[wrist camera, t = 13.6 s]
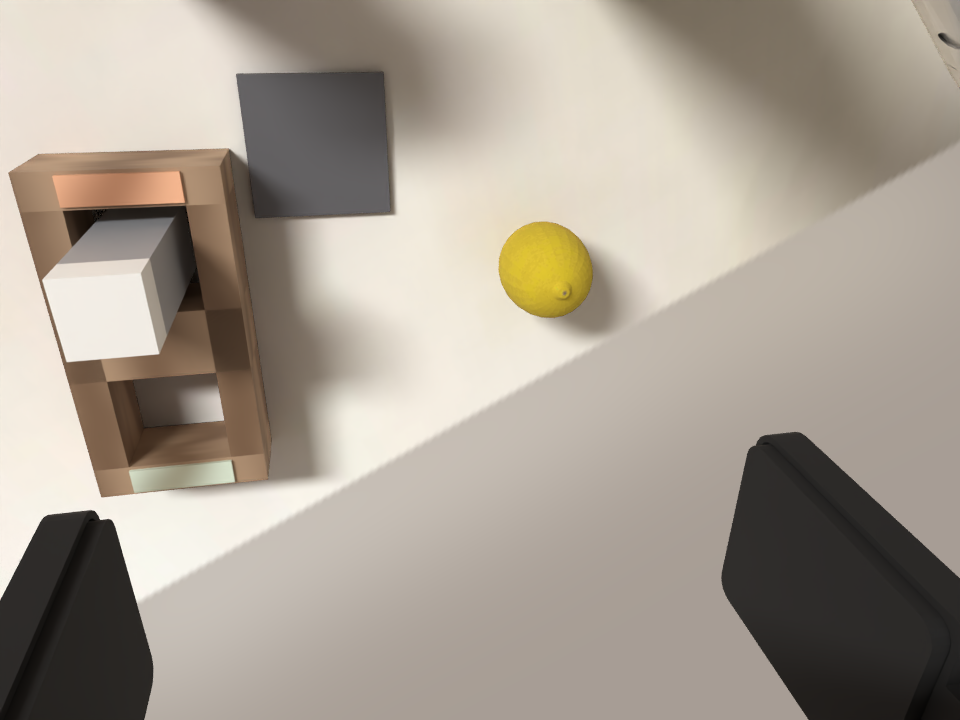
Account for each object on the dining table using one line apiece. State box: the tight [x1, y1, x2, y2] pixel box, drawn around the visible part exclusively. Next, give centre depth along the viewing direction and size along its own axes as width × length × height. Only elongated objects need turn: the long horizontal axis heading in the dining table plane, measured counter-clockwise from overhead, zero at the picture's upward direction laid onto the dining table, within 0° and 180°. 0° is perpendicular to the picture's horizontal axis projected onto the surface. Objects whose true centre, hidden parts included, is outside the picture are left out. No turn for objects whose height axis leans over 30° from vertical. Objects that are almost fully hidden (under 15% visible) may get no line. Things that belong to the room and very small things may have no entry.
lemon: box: [499, 222, 593, 318], centre depth 45 cm, size 6×6×8 cm
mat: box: [236, 72, 390, 218], centre depth 42 cm, size 8×8×1 cm
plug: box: [42, 206, 196, 362], centre depth 38 cm, size 4×4×12 cm
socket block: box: [9, 149, 272, 497], centre depth 43 cm, size 10×20×5 cm, turn 0°
